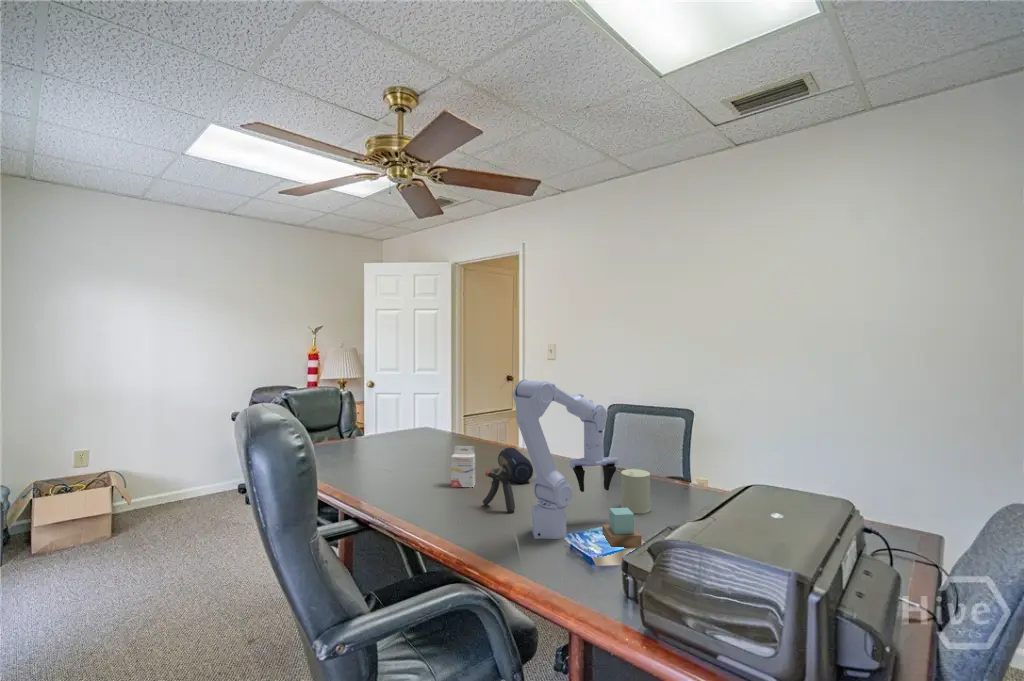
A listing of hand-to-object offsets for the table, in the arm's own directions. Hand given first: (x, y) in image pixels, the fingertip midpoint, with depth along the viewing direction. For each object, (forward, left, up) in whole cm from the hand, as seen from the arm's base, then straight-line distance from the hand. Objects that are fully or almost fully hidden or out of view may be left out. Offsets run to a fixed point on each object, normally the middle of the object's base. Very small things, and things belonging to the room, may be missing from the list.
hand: (594, 490), depth 143 cm
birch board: (+1, -21, -9) cm, 23 cm away
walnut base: (+3, -17, -9) cm, 20 cm away
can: (+16, +10, -10) cm, 21 cm away
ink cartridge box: (-40, +40, -10) cm, 57 cm away
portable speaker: (-20, +51, -10) cm, 56 cm away
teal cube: (+3, -17, -5) cm, 18 cm away
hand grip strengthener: (-28, +14, -10) cm, 33 cm away
